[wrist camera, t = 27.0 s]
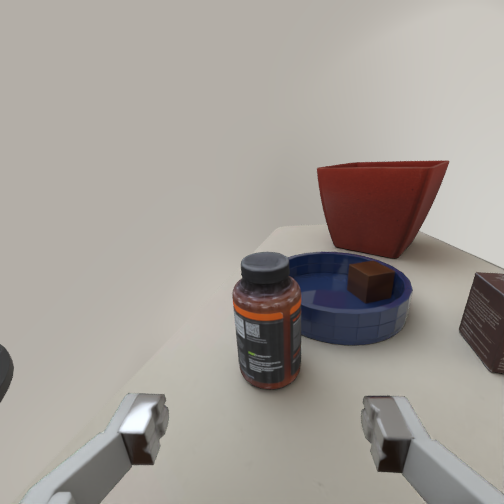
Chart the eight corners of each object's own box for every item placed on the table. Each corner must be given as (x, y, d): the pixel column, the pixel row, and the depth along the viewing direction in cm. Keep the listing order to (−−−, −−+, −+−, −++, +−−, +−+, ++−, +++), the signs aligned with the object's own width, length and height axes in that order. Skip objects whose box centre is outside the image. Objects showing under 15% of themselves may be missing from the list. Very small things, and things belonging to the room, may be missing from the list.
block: (365, 303, 33) (368, 276, 31) (346, 289, 36) (349, 264, 35) (391, 298, 34) (395, 271, 32) (370, 285, 37) (373, 260, 36)
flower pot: (412, 270, 42) (433, 165, 36) (311, 248, 55) (314, 167, 49) (433, 241, 55) (450, 159, 49) (347, 228, 68) (353, 162, 62)
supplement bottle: (293, 343, 27) (294, 245, 23) (308, 390, 22) (312, 272, 18) (238, 347, 27) (230, 249, 23) (239, 396, 22) (228, 278, 18)
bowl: (314, 365, 24) (316, 331, 23) (251, 286, 40) (250, 263, 38) (441, 319, 30) (449, 290, 28) (342, 266, 45) (344, 245, 44)
